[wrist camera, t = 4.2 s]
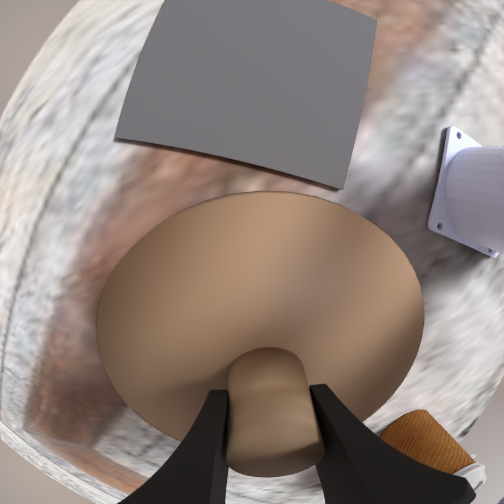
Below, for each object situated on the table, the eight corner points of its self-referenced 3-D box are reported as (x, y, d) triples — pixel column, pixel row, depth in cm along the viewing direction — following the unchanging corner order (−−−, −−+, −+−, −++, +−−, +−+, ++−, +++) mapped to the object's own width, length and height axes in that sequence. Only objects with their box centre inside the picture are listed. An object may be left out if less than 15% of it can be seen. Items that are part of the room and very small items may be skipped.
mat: (374, 22, 13) (376, 20, 13) (340, 189, 16) (342, 189, 16) (180, -23, 12) (179, -26, 11) (117, 137, 15) (114, 137, 15)
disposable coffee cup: (371, 416, 22) (416, 514, 10) (449, 386, 22) (506, 458, 10) (361, 463, 24) (389, 540, 13) (429, 436, 24) (467, 501, 13)
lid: (458, 242, 10) (536, 290, 5) (341, 445, 14) (359, 505, 10) (111, 156, 8) (15, 169, 4) (115, 419, 13) (93, 484, 8)
